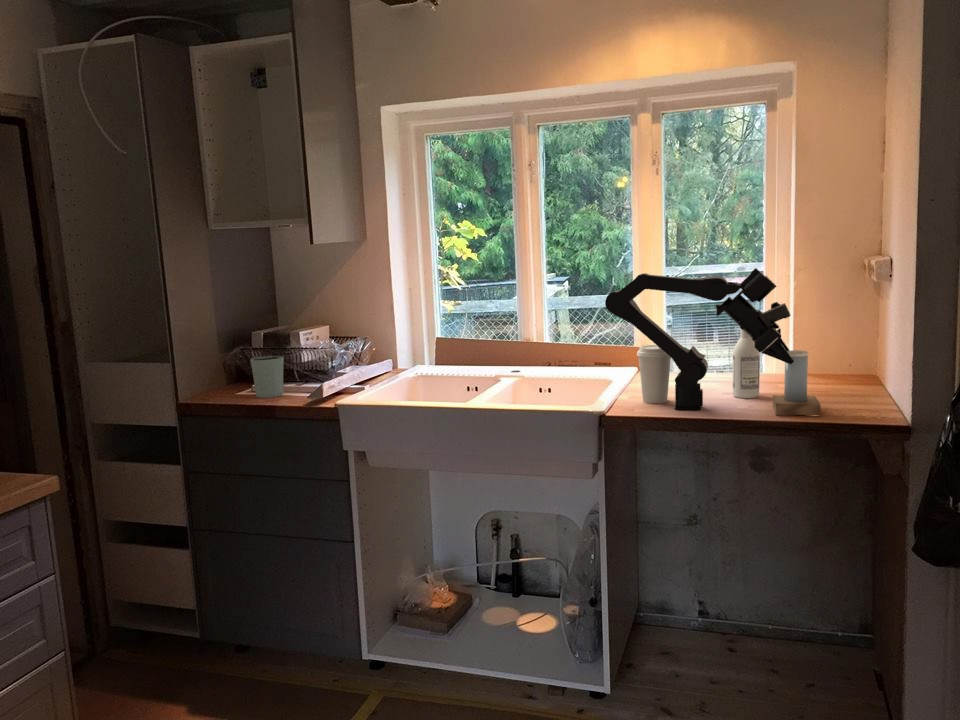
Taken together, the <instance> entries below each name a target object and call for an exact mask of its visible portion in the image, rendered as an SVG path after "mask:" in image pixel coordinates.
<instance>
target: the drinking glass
mask: <svg viewBox="0 0 960 720" xmlns="http://www.w3.org/2000/svg"><path fill="white" fill-rule="evenodd" d="M284 360H285V359H284V355H282V356H281V355H267V356H266V355H264V356H257V357H252V358H250V360H249V361H250V366H251V371H252V375H253V376H252V377H253V384H254V390H255V396H256V398H260V399H261V398H262V399H265V398H268V399H269V398H274V397H275V398H276V397H281V396H283V395H284ZM282 394H283V395H282Z"/></svg>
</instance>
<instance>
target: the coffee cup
mask: <svg viewBox="0 0 960 720" xmlns="http://www.w3.org/2000/svg"><path fill="white" fill-rule="evenodd" d="M636 356H637V357H638V365H639V374H640V375H639V376H640V384H641V386H640V387H641V393H642V401H643V403H645V402H646V404H653V403H658V404H664V403H667V402H668V397H669V396H668V394H669V384H670V383H669V382H670V371H671V361H672V358H671V357H670V356H669V355H668V354H666V353H665V352H664V351H663V350H662V349H661V348H659V347H658V346H657V345H656V344H647V345H642V346H639V348H638V350H637V352H636Z"/></svg>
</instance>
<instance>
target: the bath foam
mask: <svg viewBox="0 0 960 720" xmlns="http://www.w3.org/2000/svg"><path fill="white" fill-rule="evenodd" d="M754 346H755V342H754V341H753V340H752V338H751V337H750V336H749V335H748V334H747V333H746V332H745V331H744V330H742V329H740V338H739V339H738V340H737V342H736V344H735V345H734V347H733V351H732V396H733V397H735V398H738V399H754V398H758V397H759V396H760V373H761V371H760V369H761V368H760V367H761V365H760V362H761V352H759V351H758V350H757V349H756V348H755V347H754Z"/></svg>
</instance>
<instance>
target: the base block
mask: <svg viewBox="0 0 960 720" xmlns="http://www.w3.org/2000/svg"><path fill="white" fill-rule="evenodd" d="M772 409H773V411H774V414H776V415H807V416H806V417H812V416H811V415H820V416H821V403H820V402H819V400H818V398H817V397H816V396H815V395H807V401H804V402H791V401H786V400H784V395H777V394H776V395H775V394H774V395H772ZM776 415H775V416H776Z"/></svg>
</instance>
